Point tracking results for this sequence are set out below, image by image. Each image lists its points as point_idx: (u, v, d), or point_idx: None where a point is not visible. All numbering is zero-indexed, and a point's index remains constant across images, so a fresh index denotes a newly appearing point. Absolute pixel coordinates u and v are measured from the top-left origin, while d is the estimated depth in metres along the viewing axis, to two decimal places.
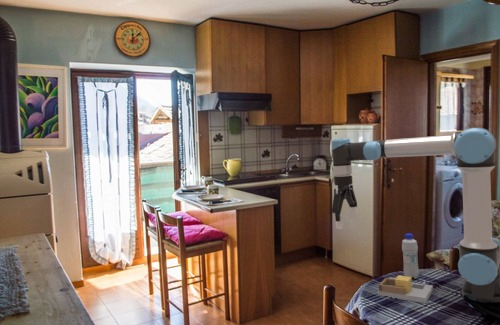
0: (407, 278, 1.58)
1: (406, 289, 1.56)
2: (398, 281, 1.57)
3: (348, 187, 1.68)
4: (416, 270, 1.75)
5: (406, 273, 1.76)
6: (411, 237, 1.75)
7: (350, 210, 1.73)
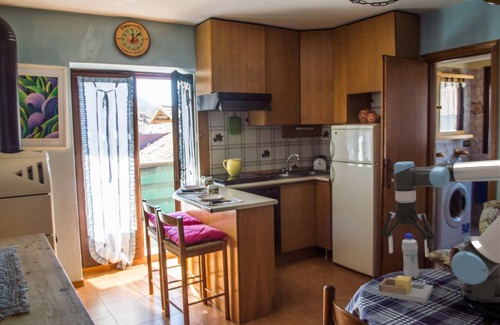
0: (407, 278, 1.58)
1: (406, 289, 1.56)
2: (398, 281, 1.57)
3: (412, 215, 1.54)
4: (416, 270, 1.75)
5: (406, 273, 1.76)
6: (411, 237, 1.75)
7: None
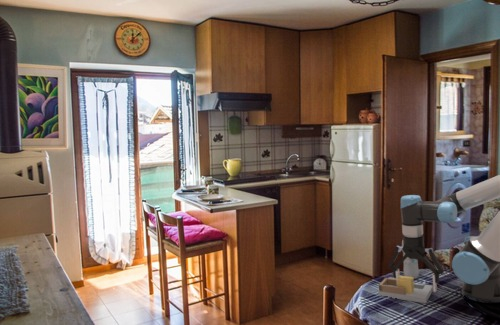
0: (409, 278, 1.57)
1: (408, 289, 1.55)
2: (400, 282, 1.57)
3: (419, 250, 1.53)
4: (416, 270, 1.75)
5: (406, 273, 1.76)
6: None
7: None
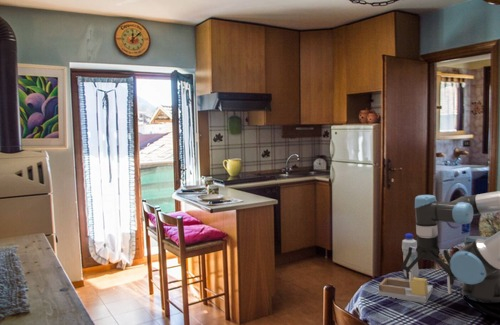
0: (423, 280, 1.54)
1: (422, 291, 1.52)
2: (413, 283, 1.54)
3: (434, 250, 1.50)
4: (416, 270, 1.75)
5: None
6: (411, 237, 1.75)
7: None
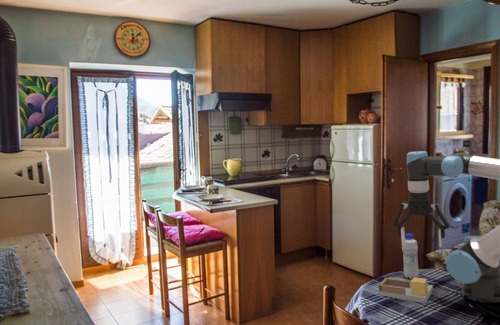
0: (423, 280, 1.54)
1: (422, 291, 1.52)
2: (413, 283, 1.54)
3: (425, 205, 1.52)
4: (416, 270, 1.75)
5: (406, 273, 1.76)
6: (411, 237, 1.75)
7: None
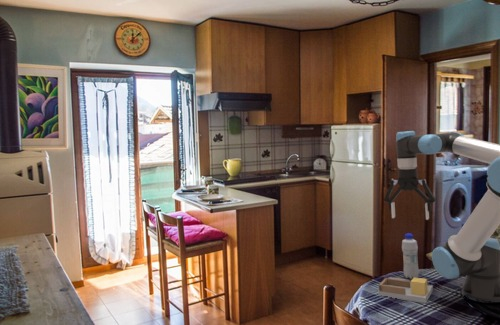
0: (423, 280, 1.54)
1: (422, 291, 1.52)
2: (413, 283, 1.54)
3: (413, 181, 1.64)
4: (416, 270, 1.75)
5: (406, 273, 1.76)
6: (411, 237, 1.75)
7: None
